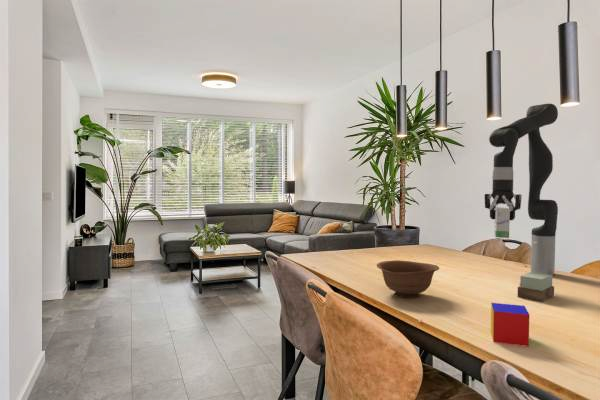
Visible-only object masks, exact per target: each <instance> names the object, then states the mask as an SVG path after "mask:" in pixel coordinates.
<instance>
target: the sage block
mask: <svg viewBox="0 0 600 400" xmlns="http://www.w3.org/2000/svg"><path fill="white" fill-rule="evenodd" d="M519 277H520V278H519V279H520V280H519V281H520V282H519V283H520V284H519V286H520V287H523V288H528V289H534V290H540V291H543V290H545V289H547V288H549V287H551V286H553V275H549V274H542V273H535V272H531V271H530V272H527V273H525V274H522V275H520V276H519Z"/></svg>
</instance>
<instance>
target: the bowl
mask: <svg viewBox="0 0 600 400" xmlns="http://www.w3.org/2000/svg"><path fill="white" fill-rule="evenodd" d="M376 267H377V268H378V269H380V270H381V272H382V277H383V282H384V283H385V285H386V287H387V288H388V289H389V290H391V291H393V292H394V296H395V297H398V298H401V299H417V298H419V297H420V296H421V295H420V294H421V293H424V292H425V291H427V290H428V288H430V285H431V284H432V281H433V276H434V274H435V272H436V271H438V270H439V269H440V267H439V266H438V265H437V264H433V263H426V262H425V263H424V262H417V261H412V260H411V261H410V260H397V259H396V260H385V261H380V262H377V263H376Z"/></svg>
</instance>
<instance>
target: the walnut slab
mask: <svg viewBox="0 0 600 400" xmlns="http://www.w3.org/2000/svg"><path fill="white" fill-rule="evenodd" d="M554 297H555V286H554V285H552V286H551V287H549V288H547V289H545V290H543V291H540V290H534V289H528V288H523V287H520V285H519V286H518V287H517V298H520V299H525V300H531V301H535V302H540V303H543V302H545V301H548V300H549V299H552V298H554Z"/></svg>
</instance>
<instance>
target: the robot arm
mask: <svg viewBox="0 0 600 400" xmlns="http://www.w3.org/2000/svg"><path fill="white" fill-rule="evenodd" d="M558 115H559V111H558V108H557V106H556V105H555V104H553V103H542V104H536V105H531V106H529V107H528V108H527V111H526V116H525V117H522V118H520V119H517V120H515V121H513V122H512V123H510V124H508V125H506V126H505V125H504V126H502V127H499V128H497V129H495V130H493V131H492V132H491V133H490V134H489V138H488V141H489V144H490V145H491V146H493V147H495V148H503V150H502V151H499V152H497V153H495V154H494V155H493V170H492V176H491V177H492V178H491V179H492V193H485V194H484V208H485V209H487V210H489V218H490V219H491V220H495V208H496V207H498V205H501V204H502V205H506V206H507V208H509V209H510V221H514V220H515V218H516V211H518V210H521V206H522V194H521V193H520V194H519V193H518V194H514V168H513V167H514V155H515V152H516V150H517V149H516V148H517V146H518V143H519V140H520V139H521V138H524V137H525V136H526V135H527V136H528V138H527V139H528V175H529V176H528V177H529V179H528V180H529V181H528V182H529V183H528V186H529V187H528V188H529V189H528V202H527V214H528V217H529V219H531V220H534V221H536V220H537V221H544V223H543V224H542V225H540V226H538V227H533V228H532V229H531V245H530V246H531V249H530V250H531V251H530V252H531V253H530V254H531V255H530V272H535V273H542V274H549V275H552V276H554V275H555V269H556V268H555V266H556V265H555V264H556V234H557V233H556V232H557V226H558V225H557V224H558V216H559V215H558V213H559V207H558V203H557V201H556V200H554V199H541V192H542V189H543V186H544V185H545V183H546V182H547V180H548V179H549V177H550V176H551V174H552V173H553V169H554V167H553V166H554V163H553V161H554V160H553V153H552V151H551V150H550V147H548V145H547V144H546V143H545V142H544V140H543V138H542V135H541V131H540V128H542V127H545V126H549V125H552V124H554V123H555V122H556V121H557V119H558ZM513 198H514V201H515V203H514V202H513V201H512V200H513ZM491 199H493V201H492V202H491Z"/></svg>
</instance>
